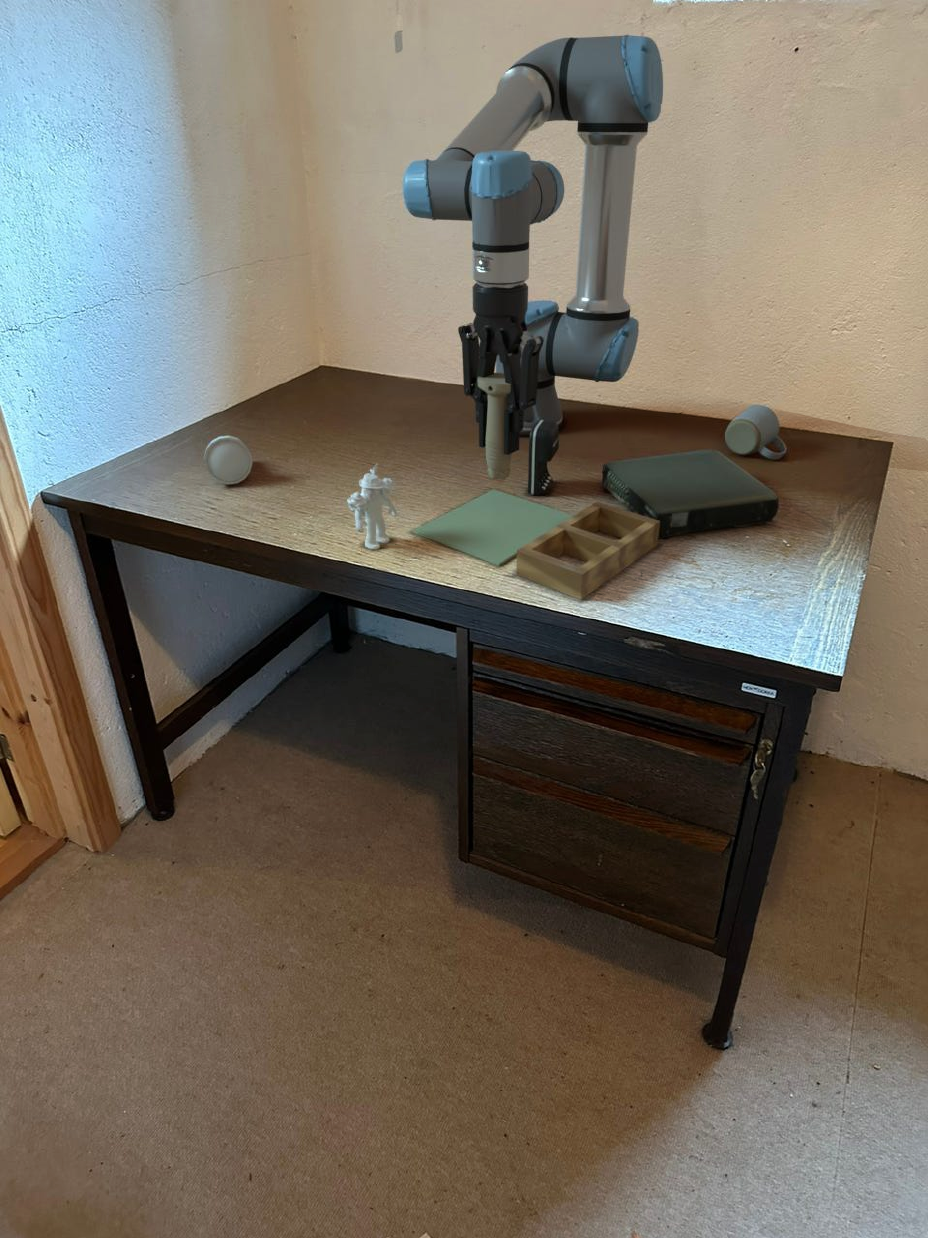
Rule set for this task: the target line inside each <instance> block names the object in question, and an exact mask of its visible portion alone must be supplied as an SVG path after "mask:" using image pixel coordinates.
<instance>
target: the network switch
mask: <svg viewBox="0 0 928 1238" xmlns="http://www.w3.org/2000/svg"><path fill="white" fill-rule="evenodd" d="M601 474H602V477H601V486H602V487H603V488H604V489H605V490H607V491H608V492H610V493H611V495H612V496H613V497H614V498H615V499H617V501H618V502H619V503H620V504H621V505H622V506H624V508H626V509H627V511H629V512H633V513H636V514H639V515H642V516H645V517H649V518H652V519H655V520H658V521H660V527H659V535H658V539H659V538H661V539H663V538H667V537H671V536H676V535H681V534H687V533H695V532H701V531H702V532H703V531H708V530H713V529H721V528H727V527H735V528H740V527H746V526H753V525H760V524H761V525H762V524H767V525H769V524H773V519H774V518H775V517H776V515H777V514H778V510H779V503H780V501H779V497H778V496H777V493H776V492H774V491H773V490H772V489H771V488H769V487H768V486H767V485H765V484H764V483H763V482H762V481H760V480H759V479H758V478H756V477H754V476H753V475H752V474H751V473H750V472H748V471H746V470H745V469H744V468H742V466H740V465H738V464H737V463H735V462H734V461H733V460H732V459H730V458H729V457H727V456H726V455H725V454H723V453H722V452H720V451H718V450H714V449H710V448H707V449H699V450H691V451H686V452H677V453H668V454H662V455H653V456H644V457H638V458H629V459H623V460H622V459H621V460H614V461H608V462H605V463H604V464H603V466H602V472H601Z"/></svg>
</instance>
